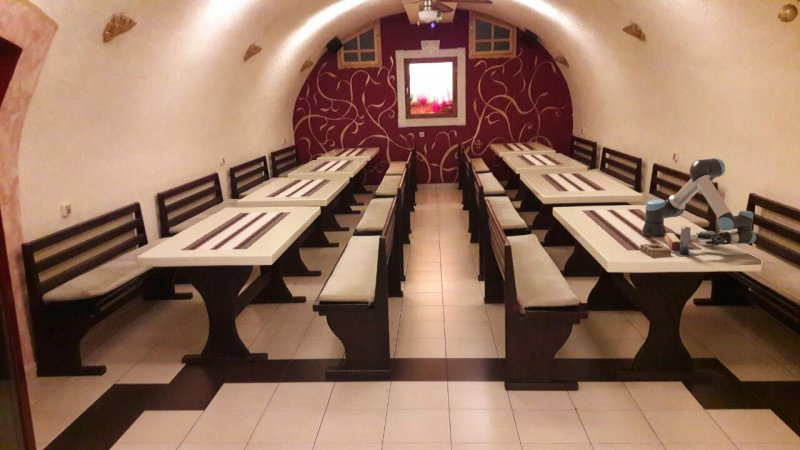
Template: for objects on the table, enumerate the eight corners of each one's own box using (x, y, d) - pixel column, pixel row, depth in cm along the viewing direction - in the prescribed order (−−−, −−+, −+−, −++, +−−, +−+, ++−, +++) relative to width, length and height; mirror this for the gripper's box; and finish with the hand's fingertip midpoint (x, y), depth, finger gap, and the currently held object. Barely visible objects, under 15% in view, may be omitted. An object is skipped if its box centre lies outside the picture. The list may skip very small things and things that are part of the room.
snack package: (682, 251, 351) (683, 240, 349) (670, 251, 352) (671, 240, 351) (674, 242, 371) (675, 232, 369) (663, 242, 372) (664, 232, 371)
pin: (677, 252, 346) (679, 226, 342) (685, 252, 346) (687, 226, 343) (682, 255, 341) (684, 228, 338) (690, 254, 341) (692, 228, 338)
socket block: (640, 250, 354) (640, 244, 354) (659, 249, 355) (659, 243, 354) (651, 256, 341) (651, 250, 340) (670, 255, 341) (671, 249, 341)
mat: (668, 252, 349) (668, 251, 349) (688, 251, 350) (688, 250, 350) (679, 257, 338) (679, 256, 338) (699, 256, 338) (699, 255, 338)
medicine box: (710, 244, 364) (711, 230, 362) (714, 246, 360) (715, 232, 358) (698, 244, 364) (699, 231, 362) (702, 246, 359) (703, 233, 357)
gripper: (740, 249, 331) (705, 251, 330) (714, 239, 356) (681, 240, 354) (742, 237, 330) (706, 238, 329) (715, 227, 354) (682, 228, 353)
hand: (693, 239), depth 342 cm, fingers open, 13 cm apart
